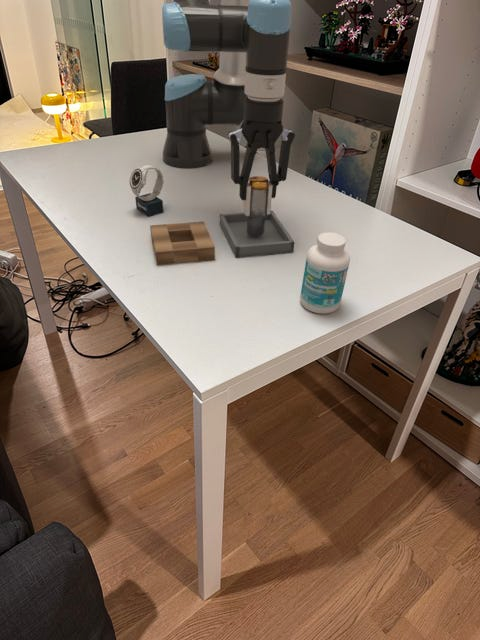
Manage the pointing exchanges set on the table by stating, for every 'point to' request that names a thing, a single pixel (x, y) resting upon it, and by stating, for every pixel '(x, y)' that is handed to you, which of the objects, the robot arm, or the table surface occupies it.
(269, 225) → the tray
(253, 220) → the pin
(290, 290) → the table surface
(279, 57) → the robot arm
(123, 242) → the table surface
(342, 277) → the pill bottle
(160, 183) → the watch
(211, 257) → the socket block
